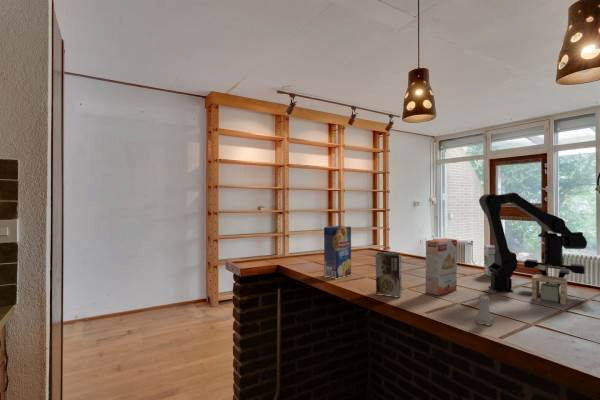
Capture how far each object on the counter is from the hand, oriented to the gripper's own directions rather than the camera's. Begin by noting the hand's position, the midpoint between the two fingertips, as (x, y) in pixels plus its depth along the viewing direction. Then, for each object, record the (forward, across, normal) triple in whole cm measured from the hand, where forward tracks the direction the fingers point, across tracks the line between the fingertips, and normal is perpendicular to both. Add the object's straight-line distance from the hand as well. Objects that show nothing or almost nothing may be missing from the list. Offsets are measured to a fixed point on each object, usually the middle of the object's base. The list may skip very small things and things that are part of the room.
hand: (553, 287), depth 128 cm
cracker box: (+2, +33, +30) cm, 44 cm away
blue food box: (+2, +79, +37) cm, 87 cm away
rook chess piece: (+2, +11, +55) cm, 57 cm away
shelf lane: (+2, 0, +13) cm, 13 cm away
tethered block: (+2, 0, +7) cm, 7 cm away
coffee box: (+2, +46, +48) cm, 67 cm away
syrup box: (+2, +25, -15) cm, 29 cm away
